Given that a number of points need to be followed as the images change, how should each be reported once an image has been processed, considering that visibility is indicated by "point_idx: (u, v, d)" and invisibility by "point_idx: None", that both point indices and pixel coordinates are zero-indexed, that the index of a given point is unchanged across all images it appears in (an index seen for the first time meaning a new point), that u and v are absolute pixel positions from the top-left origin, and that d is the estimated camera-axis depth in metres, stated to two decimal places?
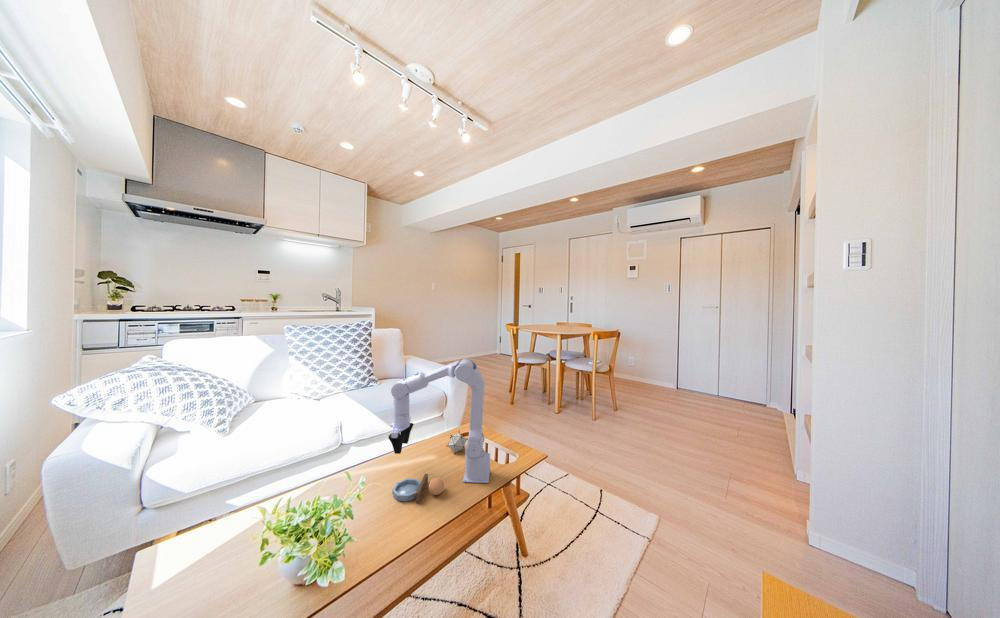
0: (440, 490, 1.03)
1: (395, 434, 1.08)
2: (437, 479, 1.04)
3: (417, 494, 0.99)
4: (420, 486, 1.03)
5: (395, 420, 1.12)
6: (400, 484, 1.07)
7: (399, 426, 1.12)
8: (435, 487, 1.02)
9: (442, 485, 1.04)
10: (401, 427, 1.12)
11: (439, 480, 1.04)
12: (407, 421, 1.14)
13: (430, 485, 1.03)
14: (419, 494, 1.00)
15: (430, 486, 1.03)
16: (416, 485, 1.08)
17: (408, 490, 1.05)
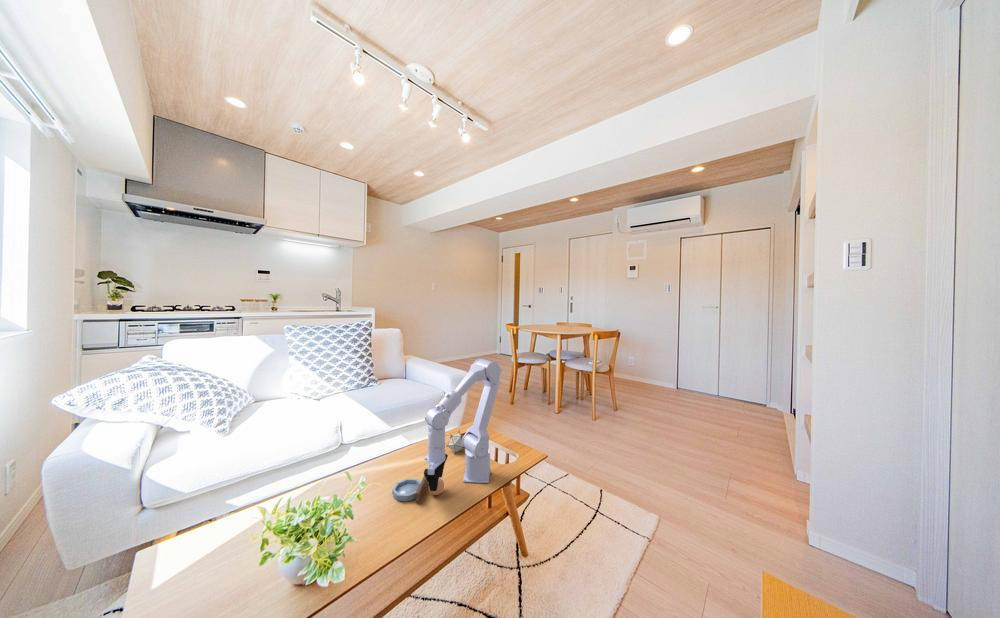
0: (440, 490, 1.03)
1: (432, 470, 0.97)
2: None
3: (417, 494, 0.99)
4: (420, 486, 1.03)
5: (430, 453, 1.02)
6: (400, 484, 1.07)
7: (435, 460, 1.01)
8: None
9: (442, 485, 1.04)
10: (437, 461, 1.01)
11: (439, 480, 1.04)
12: (443, 454, 1.03)
13: None
14: (419, 494, 1.00)
15: None
16: (416, 485, 1.08)
17: (408, 490, 1.05)
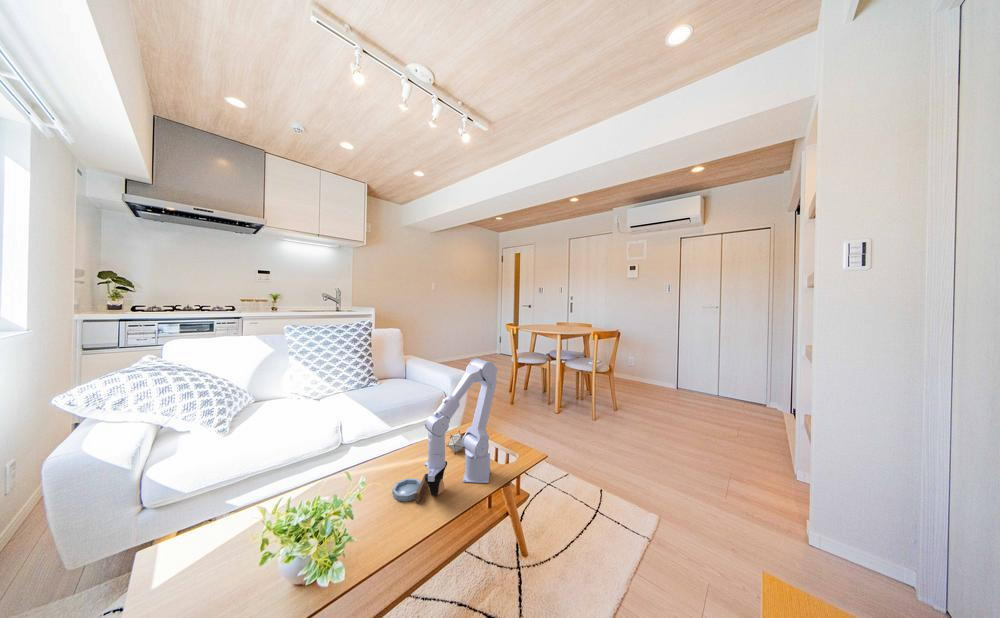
0: (440, 490, 1.03)
1: (432, 477, 0.97)
2: None
3: (417, 494, 0.99)
4: (420, 486, 1.03)
5: (430, 460, 1.02)
6: (400, 484, 1.07)
7: (435, 466, 1.01)
8: None
9: (442, 485, 1.04)
10: (437, 468, 1.01)
11: None
12: (443, 460, 1.03)
13: None
14: (419, 494, 1.00)
15: None
16: (416, 485, 1.08)
17: (408, 490, 1.05)
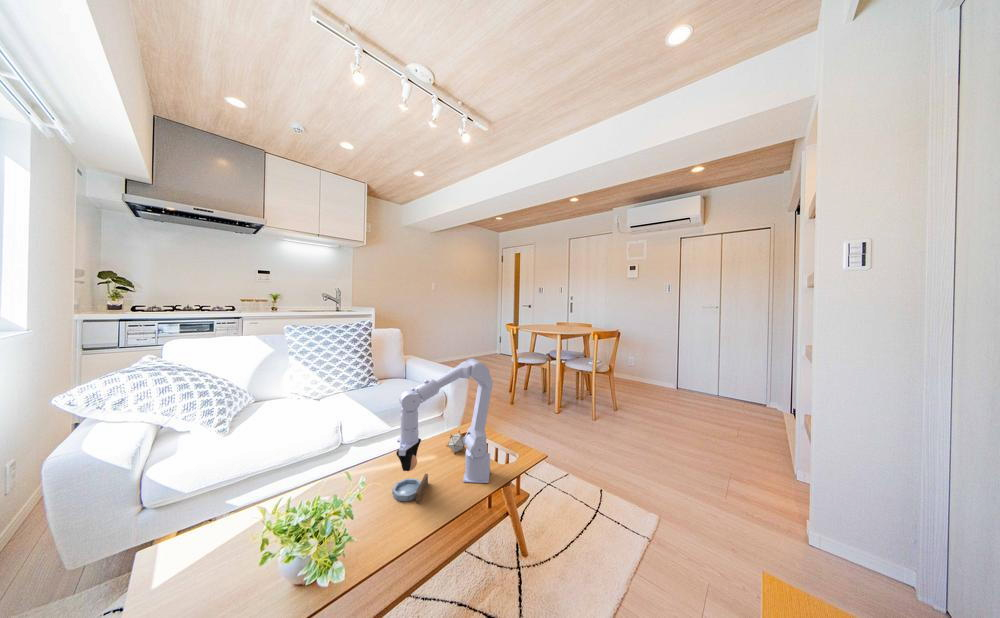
0: (412, 466, 1.03)
1: (403, 451, 0.97)
2: None
3: (417, 494, 0.99)
4: (420, 486, 1.03)
5: (402, 435, 1.02)
6: (400, 484, 1.07)
7: (407, 442, 1.01)
8: None
9: (415, 461, 1.04)
10: (409, 443, 1.01)
11: (412, 456, 1.04)
12: (416, 436, 1.03)
13: None
14: (419, 494, 1.00)
15: None
16: (416, 485, 1.08)
17: (408, 490, 1.05)
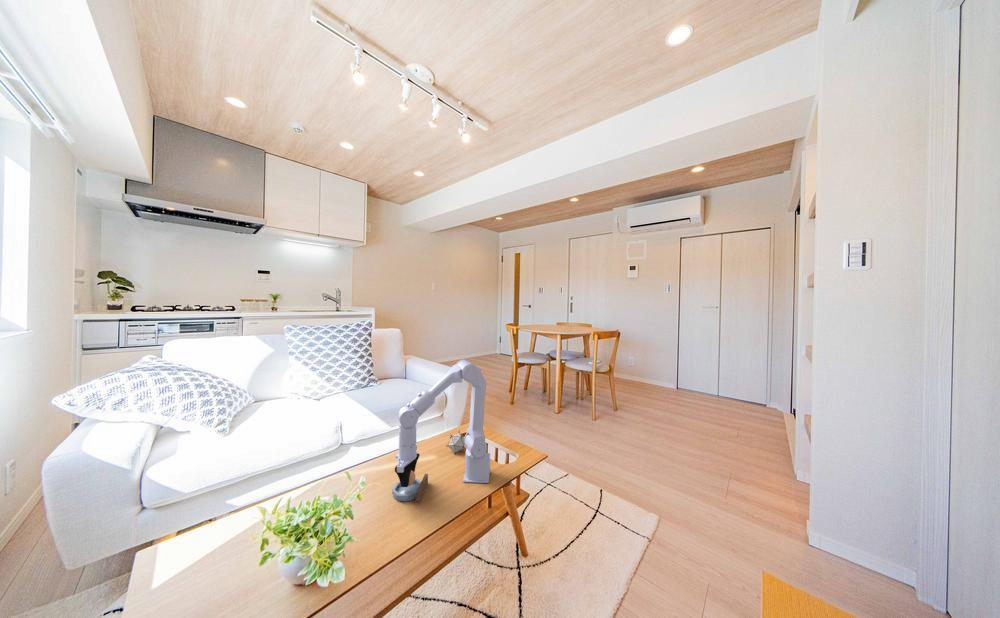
0: (411, 482, 1.03)
1: (401, 468, 0.97)
2: None
3: (417, 494, 0.99)
4: (420, 486, 1.03)
5: (401, 451, 1.02)
6: (400, 484, 1.07)
7: (405, 458, 1.02)
8: None
9: (413, 477, 1.04)
10: (407, 459, 1.02)
11: None
12: (414, 452, 1.03)
13: None
14: (419, 494, 1.00)
15: None
16: (416, 485, 1.08)
17: (408, 490, 1.05)
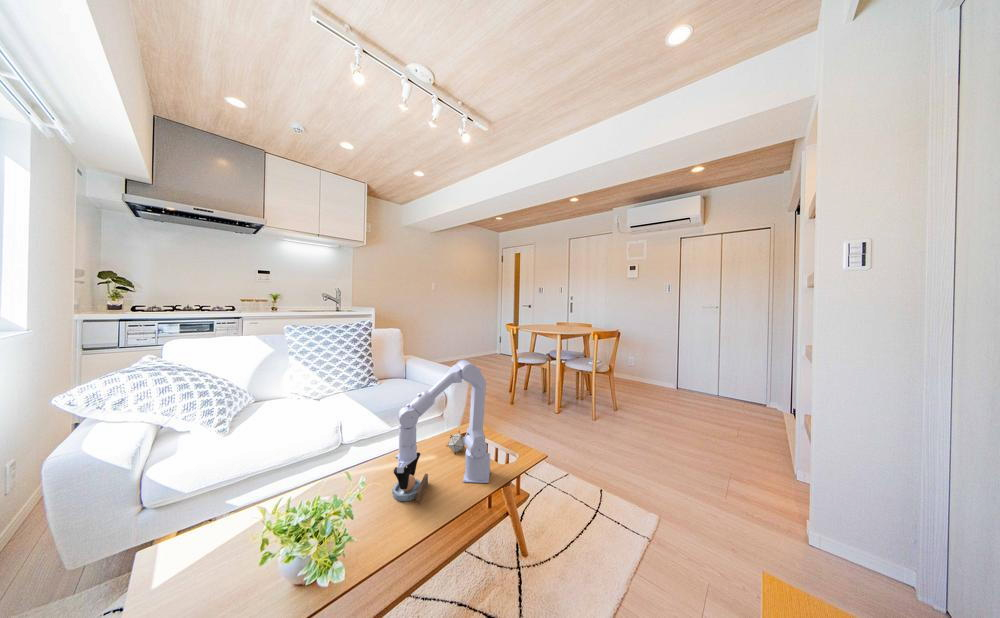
0: (411, 486, 1.03)
1: (401, 469, 0.97)
2: None
3: (417, 494, 0.99)
4: (420, 486, 1.03)
5: (401, 452, 1.02)
6: None
7: (405, 458, 1.02)
8: None
9: (413, 482, 1.04)
10: (407, 460, 1.02)
11: (410, 477, 1.04)
12: (414, 452, 1.03)
13: None
14: (419, 494, 1.00)
15: None
16: (416, 485, 1.08)
17: None
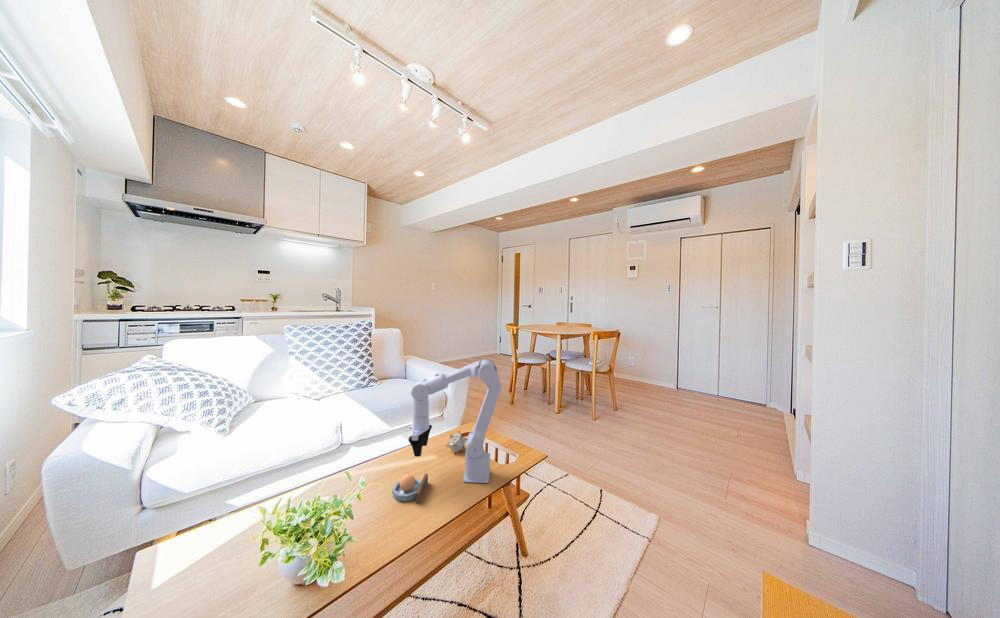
0: (411, 486, 1.03)
1: (416, 436, 1.05)
2: (408, 475, 1.05)
3: (417, 494, 0.99)
4: (420, 486, 1.03)
5: (415, 422, 1.10)
6: None
7: (419, 428, 1.10)
8: (405, 483, 1.02)
9: (413, 481, 1.04)
10: (421, 429, 1.10)
11: (410, 476, 1.04)
12: (427, 423, 1.11)
13: (401, 481, 1.03)
14: (419, 494, 1.00)
15: (401, 482, 1.03)
16: (416, 485, 1.08)
17: None
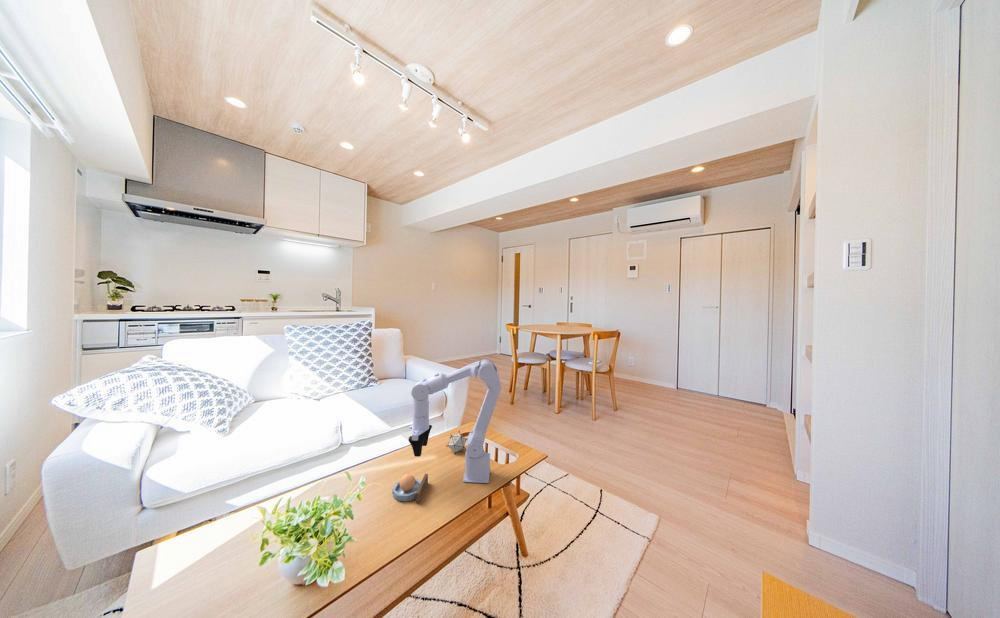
0: (411, 486, 1.03)
1: (416, 436, 1.05)
2: (408, 475, 1.05)
3: (417, 494, 0.99)
4: (420, 486, 1.03)
5: (415, 422, 1.10)
6: None
7: (419, 428, 1.10)
8: (405, 483, 1.03)
9: (413, 481, 1.04)
10: (421, 429, 1.10)
11: (410, 476, 1.04)
12: (427, 423, 1.11)
13: (401, 481, 1.03)
14: (419, 494, 1.00)
15: (401, 482, 1.03)
16: (416, 485, 1.08)
17: None
